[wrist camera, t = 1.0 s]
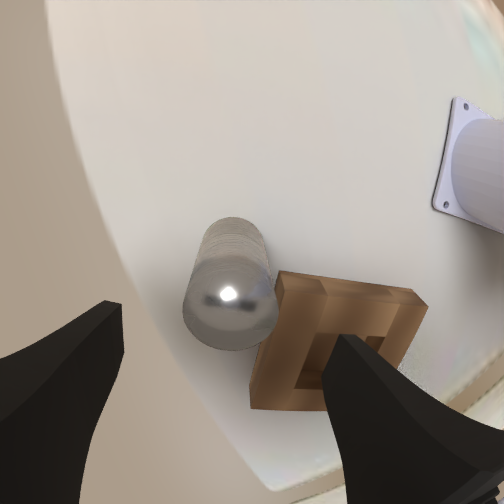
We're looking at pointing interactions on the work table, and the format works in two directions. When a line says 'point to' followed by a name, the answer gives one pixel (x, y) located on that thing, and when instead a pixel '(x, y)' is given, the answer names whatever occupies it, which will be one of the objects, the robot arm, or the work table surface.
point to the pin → (231, 288)
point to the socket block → (327, 335)
